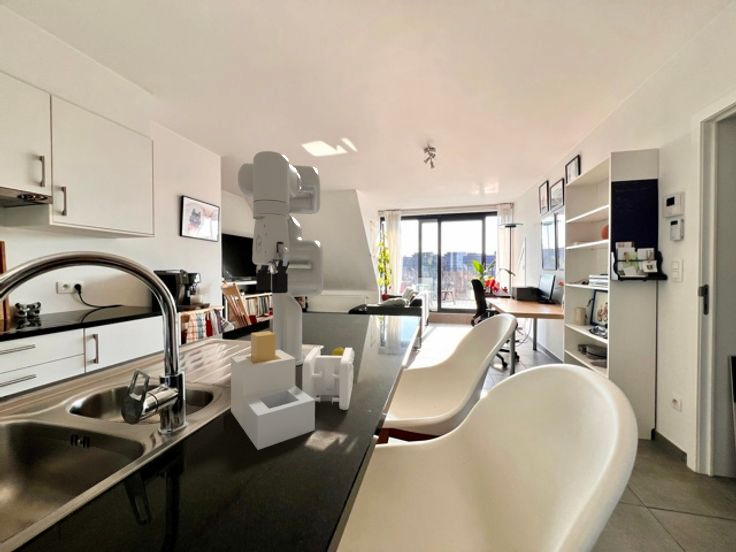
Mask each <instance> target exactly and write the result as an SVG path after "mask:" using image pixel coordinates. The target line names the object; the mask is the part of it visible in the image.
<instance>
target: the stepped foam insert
mask: <svg viewBox="0 0 736 552" xmlns="http://www.w3.org/2000/svg"><path fill="white" fill-rule="evenodd" d="M230 412H231V414H232V415H233V416H234V418H235V420H236V421H237V422H238V423H239V425H240V426H241V428H242V429H243V430H244V432H245V434H246V435H247V437H248V438H249V439H250V441H251V442H252V443H253V445H254V447H255V448H256V449H257V451H259V450H262V449H264V448H267V447H270V446H271V447H272V446H274V445H276V444H279V443H282V442H284V441H287V440H291V439H294V438H296V437H300V436H302V435H305V434H308V433H311V432H313V431H315V429H316V426H315V421H316V418H315V416H316V415H315V414H316V413H315V412H316V401H315V400H314V399H313V398H312V397H310V396H309V395H308V394H306V393H305V392H303V391H302V389H300V388H299V387H298V386H296V366H295V358H294V357H292V356H290V355H288V354H287V353H285V352H283V351H281V350H276V354H275V360H271V361H266V362H260V363H254V364H253V363H252V362H251V353H248V354H244V355H243V354H242V355H238V356H236V355H235V356H231V357H230Z"/></svg>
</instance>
